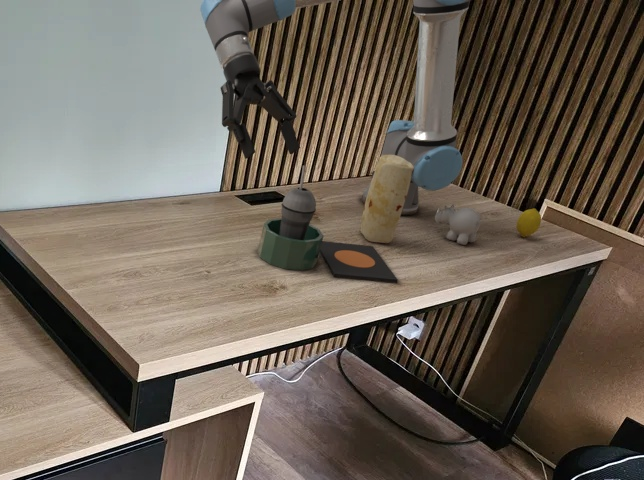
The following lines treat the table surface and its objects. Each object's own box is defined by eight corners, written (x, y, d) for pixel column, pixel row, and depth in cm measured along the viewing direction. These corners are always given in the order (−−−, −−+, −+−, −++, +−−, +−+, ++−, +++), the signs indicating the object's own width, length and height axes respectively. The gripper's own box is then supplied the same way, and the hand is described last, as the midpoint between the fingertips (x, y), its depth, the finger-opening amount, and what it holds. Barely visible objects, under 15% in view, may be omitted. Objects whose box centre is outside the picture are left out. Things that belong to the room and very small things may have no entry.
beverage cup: (282, 265, 146) (304, 173, 136) (264, 251, 151) (283, 162, 141) (310, 263, 149) (332, 172, 139) (290, 249, 155) (311, 161, 144)
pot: (254, 243, 155) (260, 215, 152) (308, 248, 156) (315, 221, 153) (263, 266, 144) (269, 238, 141) (321, 272, 146) (329, 244, 142)
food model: (397, 244, 167) (423, 162, 156) (381, 248, 163) (406, 165, 152) (365, 229, 173) (388, 150, 162) (348, 233, 169) (371, 152, 158)
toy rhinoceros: (440, 226, 182) (450, 195, 178) (478, 244, 174) (490, 212, 170) (423, 229, 178) (433, 198, 174) (461, 247, 170) (473, 215, 166)
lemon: (535, 242, 182) (548, 213, 177) (514, 238, 182) (526, 209, 178) (530, 235, 186) (542, 207, 182) (509, 231, 187) (521, 203, 183)
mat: (314, 243, 160) (315, 239, 159) (371, 249, 161) (372, 245, 161) (333, 276, 145) (334, 273, 144) (396, 283, 146) (398, 279, 146)
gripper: (204, 51, 138) (241, 148, 136) (289, 53, 152) (324, 141, 150) (184, 73, 144) (219, 166, 142) (268, 73, 158) (301, 157, 156)
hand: (273, 153), depth 146 cm, fingers open, 13 cm apart
